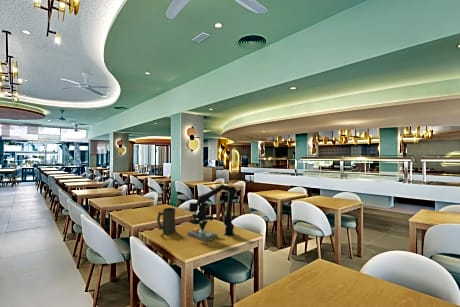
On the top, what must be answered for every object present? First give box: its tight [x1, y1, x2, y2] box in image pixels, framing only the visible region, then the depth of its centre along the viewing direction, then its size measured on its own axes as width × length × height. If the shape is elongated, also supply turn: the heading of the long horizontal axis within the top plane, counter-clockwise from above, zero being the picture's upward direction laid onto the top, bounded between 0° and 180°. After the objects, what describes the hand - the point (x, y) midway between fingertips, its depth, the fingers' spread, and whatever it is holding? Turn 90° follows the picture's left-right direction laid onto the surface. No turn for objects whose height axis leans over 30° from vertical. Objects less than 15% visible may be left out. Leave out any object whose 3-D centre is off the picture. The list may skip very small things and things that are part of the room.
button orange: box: [193, 227, 201, 233], centre depth 203 cm, size 5×5×4 cm
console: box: [187, 228, 218, 242], centre depth 198 cm, size 12×22×2 cm, turn 47°
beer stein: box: [156, 207, 177, 235], centre depth 208 cm, size 15×11×20 cm
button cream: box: [205, 231, 212, 237], centre depth 194 cm, size 5×5×4 cm
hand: (202, 230), depth 199 cm, fingers closed, pressing on button teal
